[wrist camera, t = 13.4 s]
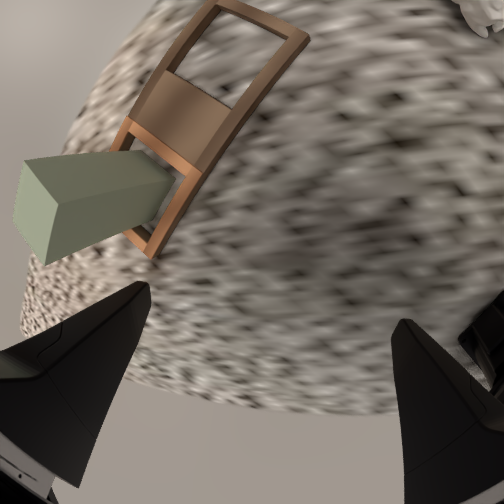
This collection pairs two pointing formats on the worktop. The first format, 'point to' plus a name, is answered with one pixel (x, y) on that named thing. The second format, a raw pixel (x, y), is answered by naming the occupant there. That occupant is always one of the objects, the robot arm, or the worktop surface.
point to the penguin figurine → (483, 14)
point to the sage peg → (86, 199)
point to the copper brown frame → (197, 113)
